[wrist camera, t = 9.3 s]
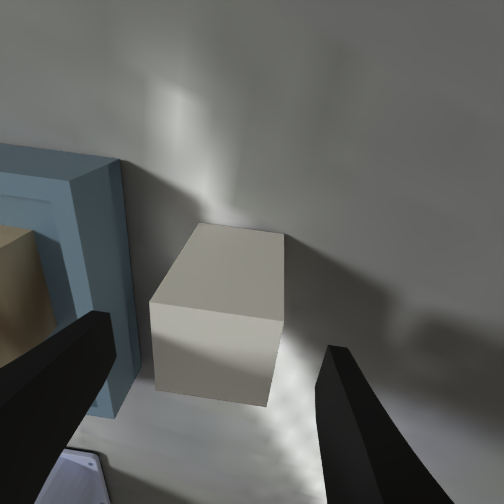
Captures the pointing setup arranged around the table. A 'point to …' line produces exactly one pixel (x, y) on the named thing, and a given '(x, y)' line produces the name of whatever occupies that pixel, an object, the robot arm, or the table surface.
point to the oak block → (22, 295)
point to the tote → (78, 246)
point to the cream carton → (220, 315)
